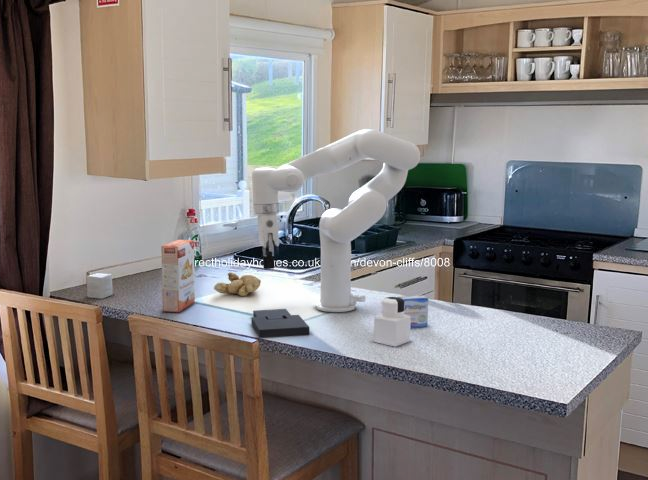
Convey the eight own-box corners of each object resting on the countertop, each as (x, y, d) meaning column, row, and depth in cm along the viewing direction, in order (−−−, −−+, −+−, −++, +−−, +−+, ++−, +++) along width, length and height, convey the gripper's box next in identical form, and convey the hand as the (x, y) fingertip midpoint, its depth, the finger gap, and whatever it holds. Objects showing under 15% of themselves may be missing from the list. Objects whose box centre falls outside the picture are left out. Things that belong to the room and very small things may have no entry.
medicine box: (402, 328, 217) (402, 299, 216) (396, 324, 222) (397, 295, 220) (427, 327, 219) (428, 297, 218) (421, 323, 224) (422, 294, 222)
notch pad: (298, 321, 225) (298, 314, 224) (309, 334, 211) (309, 326, 211) (251, 324, 221) (251, 317, 221) (259, 337, 208) (259, 329, 208)
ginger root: (271, 285, 268) (268, 264, 265) (257, 306, 254) (254, 284, 251) (229, 284, 272) (226, 264, 269) (213, 304, 258) (210, 283, 255)
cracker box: (180, 313, 234) (178, 246, 231) (161, 312, 236) (159, 245, 232) (196, 302, 248) (194, 239, 244) (179, 301, 249) (177, 238, 245)
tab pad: (285, 315, 232) (285, 308, 231) (293, 325, 221) (293, 317, 221) (253, 317, 229) (253, 310, 229) (259, 327, 219) (259, 319, 218)
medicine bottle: (388, 336, 209) (389, 294, 207) (410, 341, 205) (411, 297, 203) (373, 342, 204) (374, 298, 202) (395, 347, 200) (396, 302, 197)
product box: (98, 293, 261) (97, 272, 259) (113, 295, 259) (112, 274, 257) (87, 297, 255) (85, 276, 254) (102, 299, 253) (101, 277, 252)
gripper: (283, 211, 225) (285, 271, 228) (273, 205, 239) (276, 263, 243) (258, 212, 223) (261, 273, 227) (250, 207, 237) (253, 265, 241)
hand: (268, 268), depth 235 cm, fingers closed
